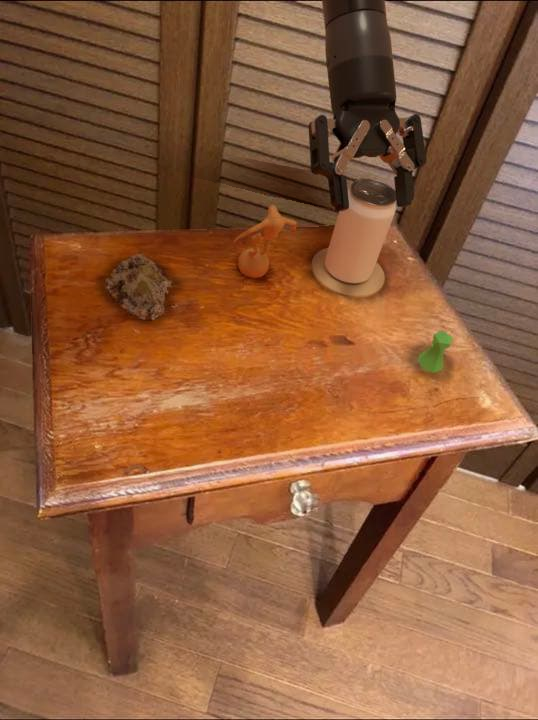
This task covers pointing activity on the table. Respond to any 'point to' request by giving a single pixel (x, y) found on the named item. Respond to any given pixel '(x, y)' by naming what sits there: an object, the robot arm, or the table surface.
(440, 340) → the game piece
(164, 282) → the mineral rock
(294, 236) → the table surface
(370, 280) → the ash disc
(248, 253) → the figurine
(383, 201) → the can
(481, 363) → the table surface
